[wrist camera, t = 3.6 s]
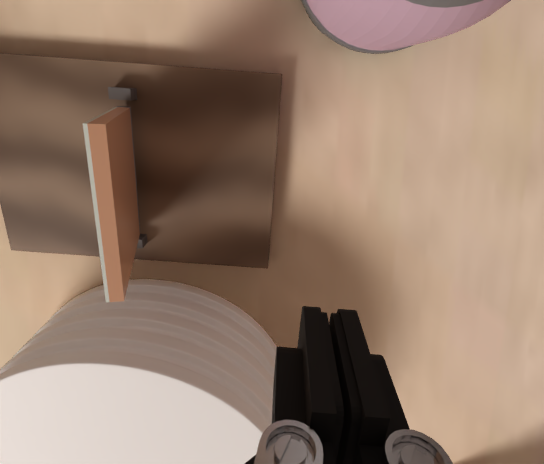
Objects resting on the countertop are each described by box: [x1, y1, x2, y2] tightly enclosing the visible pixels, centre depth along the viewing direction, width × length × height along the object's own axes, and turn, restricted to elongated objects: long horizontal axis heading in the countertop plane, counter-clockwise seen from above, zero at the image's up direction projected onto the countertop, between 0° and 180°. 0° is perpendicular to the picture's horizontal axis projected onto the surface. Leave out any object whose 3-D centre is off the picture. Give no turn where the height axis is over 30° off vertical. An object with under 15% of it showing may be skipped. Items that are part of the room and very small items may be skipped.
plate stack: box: [0, 279, 277, 464], centre depth 35 cm, size 28×28×12 cm
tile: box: [83, 106, 140, 302], centre depth 24 cm, size 10×11×1 cm
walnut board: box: [0, 53, 282, 268], centre depth 29 cm, size 16×23×3 cm
